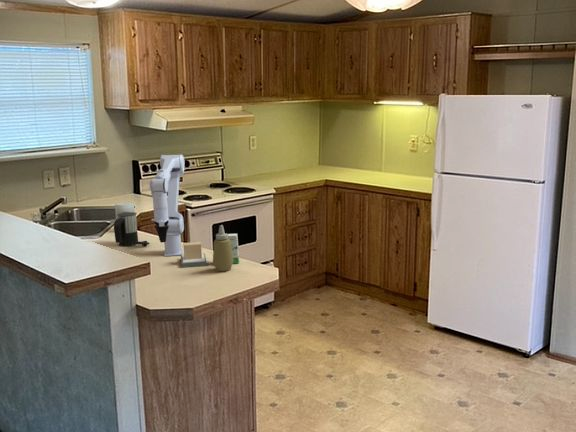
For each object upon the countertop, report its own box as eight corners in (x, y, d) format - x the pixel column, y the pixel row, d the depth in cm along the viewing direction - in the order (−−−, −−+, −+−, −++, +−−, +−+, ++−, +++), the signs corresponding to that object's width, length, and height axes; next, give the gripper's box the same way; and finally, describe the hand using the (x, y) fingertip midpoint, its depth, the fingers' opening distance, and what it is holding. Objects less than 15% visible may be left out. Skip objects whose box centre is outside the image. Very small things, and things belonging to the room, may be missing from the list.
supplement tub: (114, 231, 326) (111, 203, 323) (131, 228, 332) (129, 201, 329) (121, 234, 319) (119, 205, 316) (138, 231, 324) (136, 203, 321)
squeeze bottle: (209, 271, 247) (207, 227, 243) (218, 266, 254) (216, 222, 251) (228, 273, 244) (226, 228, 241) (237, 267, 252) (235, 223, 248)
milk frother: (122, 242, 302) (120, 211, 299) (154, 241, 301) (152, 211, 298) (113, 249, 288) (110, 217, 285) (147, 248, 287) (144, 217, 284)
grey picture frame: (181, 258, 267) (180, 254, 267) (204, 257, 269) (204, 252, 269) (182, 267, 254) (181, 262, 254) (206, 265, 256) (206, 260, 255)
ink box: (239, 260, 262) (237, 232, 260) (238, 263, 257) (237, 235, 255) (218, 261, 262) (216, 233, 259) (217, 264, 257) (215, 236, 255)
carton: (201, 255, 264) (200, 241, 263) (201, 258, 260) (201, 244, 259) (184, 256, 263) (183, 243, 262) (184, 259, 258) (183, 245, 257)
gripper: (150, 205, 263) (153, 236, 266) (150, 211, 249) (152, 244, 252) (168, 204, 264) (170, 235, 267) (168, 210, 250) (170, 243, 253)
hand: (162, 240), depth 259 cm, fingers open, 7 cm apart
